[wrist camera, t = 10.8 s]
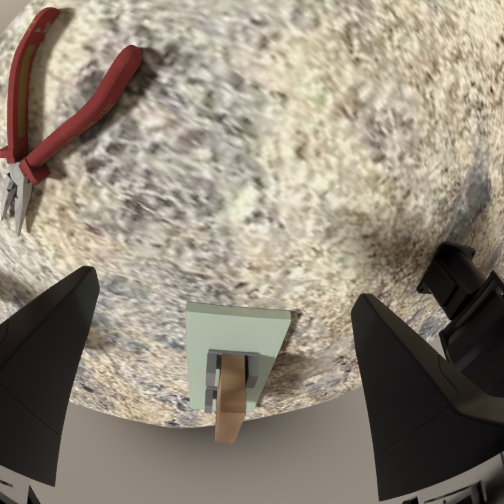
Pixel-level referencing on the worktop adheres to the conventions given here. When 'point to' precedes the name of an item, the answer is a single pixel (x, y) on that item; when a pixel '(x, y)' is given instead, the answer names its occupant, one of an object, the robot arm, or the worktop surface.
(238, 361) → the brown wooden block
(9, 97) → the pliers
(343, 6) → the worktop surface
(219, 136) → the worktop surface
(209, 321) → the hinge base
